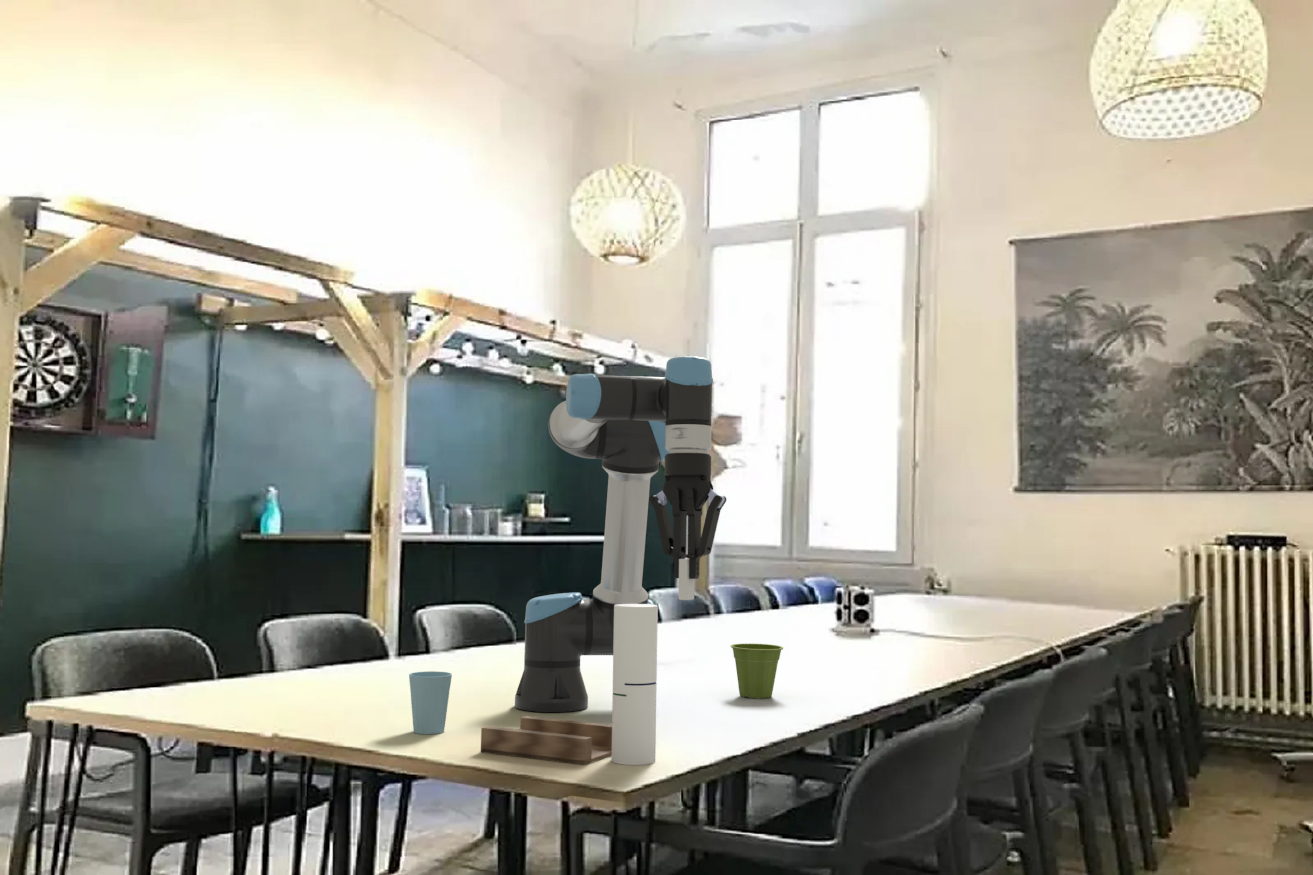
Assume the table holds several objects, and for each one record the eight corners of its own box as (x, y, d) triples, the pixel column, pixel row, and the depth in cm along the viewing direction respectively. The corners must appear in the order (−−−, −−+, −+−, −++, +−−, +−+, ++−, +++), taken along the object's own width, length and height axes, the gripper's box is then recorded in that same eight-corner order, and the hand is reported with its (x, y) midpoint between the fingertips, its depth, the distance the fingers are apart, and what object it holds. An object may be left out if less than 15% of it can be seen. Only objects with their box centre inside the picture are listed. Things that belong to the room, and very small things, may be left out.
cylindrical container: (650, 766, 188) (652, 607, 189) (606, 763, 189) (609, 606, 191) (659, 757, 195) (661, 604, 196) (617, 755, 196) (619, 603, 198)
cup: (447, 735, 211) (449, 676, 212) (404, 735, 211) (406, 676, 212) (452, 728, 219) (454, 671, 220) (410, 728, 218) (412, 671, 219)
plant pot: (749, 702, 257) (750, 649, 257) (719, 694, 267) (720, 644, 268) (793, 698, 262) (794, 647, 263) (762, 691, 273) (763, 642, 273)
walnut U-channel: (480, 752, 197) (481, 727, 197) (526, 739, 209) (526, 716, 209) (585, 764, 188) (585, 739, 188) (626, 750, 200) (626, 726, 201)
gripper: (641, 451, 191) (639, 599, 189) (715, 450, 185) (714, 602, 183) (662, 454, 198) (660, 597, 196) (734, 453, 192) (732, 600, 190)
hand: (686, 599), depth 189 cm, fingers closed
